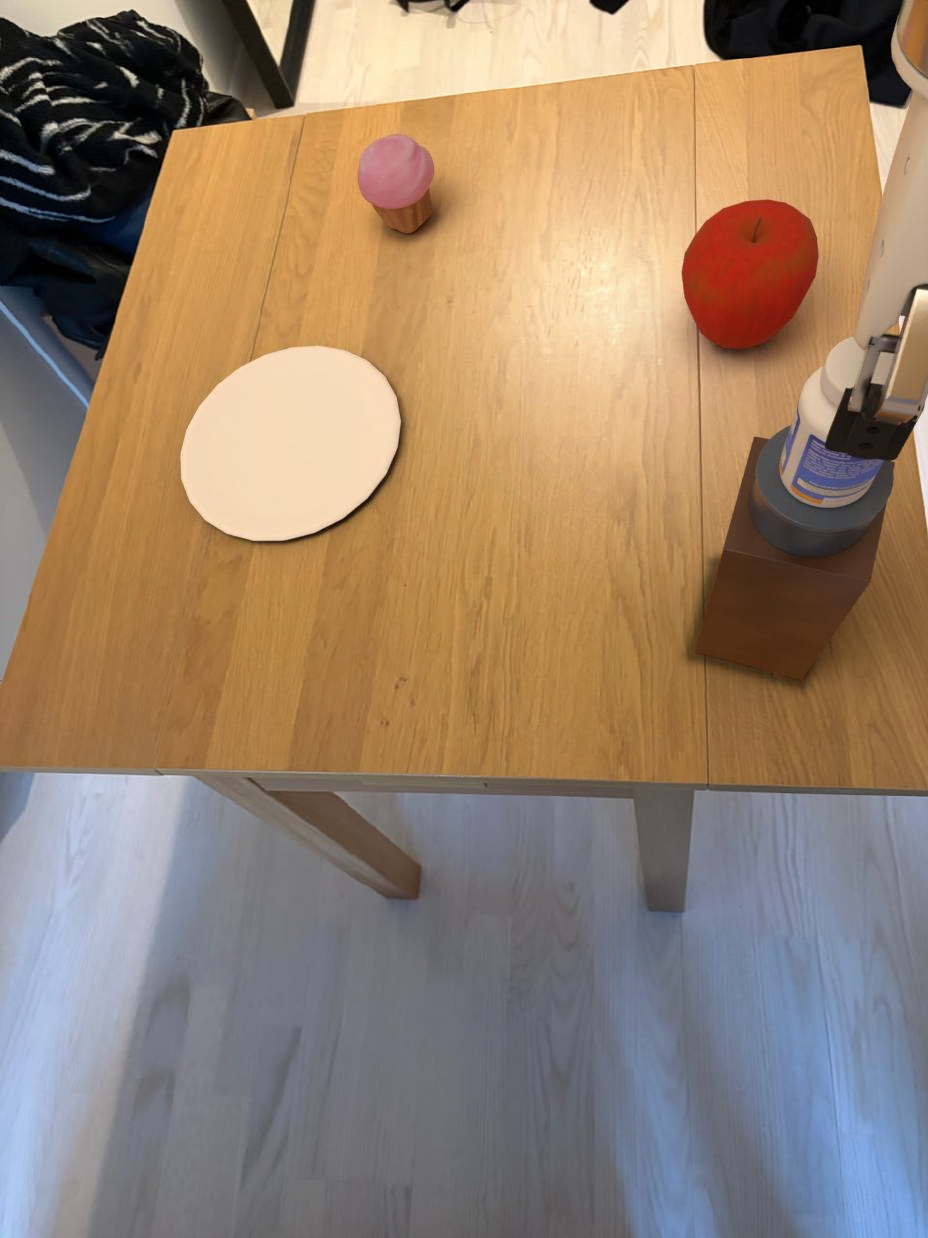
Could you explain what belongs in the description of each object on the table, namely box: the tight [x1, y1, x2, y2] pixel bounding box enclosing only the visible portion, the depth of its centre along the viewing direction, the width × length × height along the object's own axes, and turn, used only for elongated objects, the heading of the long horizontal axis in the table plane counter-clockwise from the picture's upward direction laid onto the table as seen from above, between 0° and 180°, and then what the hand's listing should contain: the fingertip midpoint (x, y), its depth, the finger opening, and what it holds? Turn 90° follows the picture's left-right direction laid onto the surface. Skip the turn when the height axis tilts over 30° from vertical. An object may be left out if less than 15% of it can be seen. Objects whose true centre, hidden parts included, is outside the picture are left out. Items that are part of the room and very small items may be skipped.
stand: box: [694, 435, 896, 681], centre depth 61 cm, size 9×9×20 cm
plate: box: [179, 345, 402, 542], centre depth 86 cm, size 25×25×1 cm
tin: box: [748, 424, 895, 557], centre depth 50 cm, size 8×8×4 cm
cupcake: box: [357, 133, 435, 234], centre depth 92 cm, size 9×9×10 cm
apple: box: [681, 198, 819, 349], centre depth 75 cm, size 12×12×14 cm
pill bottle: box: [779, 335, 894, 508], centre depth 44 cm, size 5×5×10 cm
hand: (877, 369), depth 39 cm, fingers open, 9 cm apart
